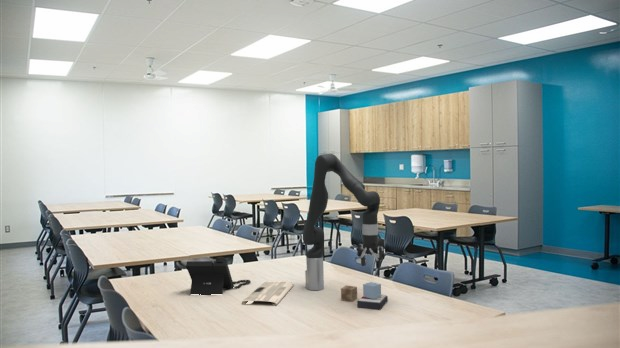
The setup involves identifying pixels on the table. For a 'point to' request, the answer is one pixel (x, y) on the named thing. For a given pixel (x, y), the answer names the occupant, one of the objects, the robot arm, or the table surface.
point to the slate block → (371, 290)
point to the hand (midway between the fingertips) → (370, 267)
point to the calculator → (372, 302)
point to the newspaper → (270, 292)
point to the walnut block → (349, 293)
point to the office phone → (211, 277)
